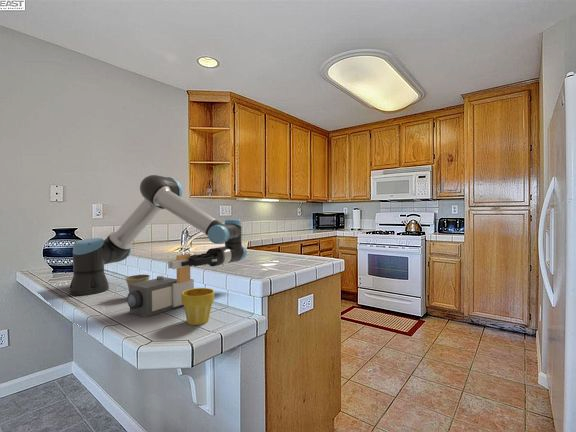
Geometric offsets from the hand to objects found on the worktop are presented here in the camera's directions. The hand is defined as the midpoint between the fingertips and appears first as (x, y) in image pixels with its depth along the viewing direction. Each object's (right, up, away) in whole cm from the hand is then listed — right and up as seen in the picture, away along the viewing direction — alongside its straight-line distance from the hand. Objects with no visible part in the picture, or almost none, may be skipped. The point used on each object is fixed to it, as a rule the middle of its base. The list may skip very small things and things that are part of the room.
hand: (170, 265), depth 109 cm
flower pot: (-21, -17, +18) cm, 32 cm away
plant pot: (+13, -17, -11) cm, 24 cm away
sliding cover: (+3, -15, +5) cm, 16 cm away
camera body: (-7, -17, +1) cm, 18 cm away
